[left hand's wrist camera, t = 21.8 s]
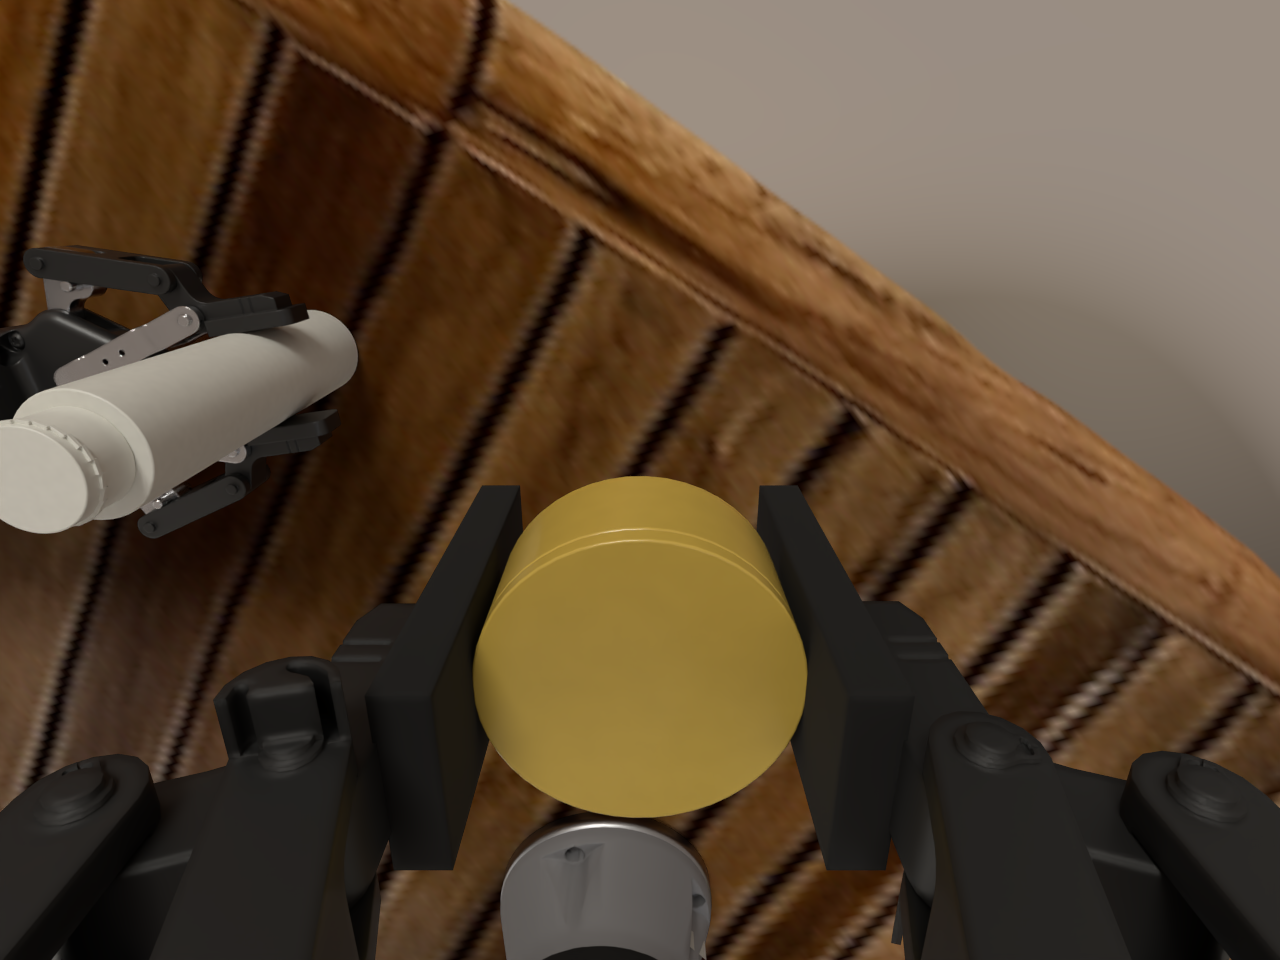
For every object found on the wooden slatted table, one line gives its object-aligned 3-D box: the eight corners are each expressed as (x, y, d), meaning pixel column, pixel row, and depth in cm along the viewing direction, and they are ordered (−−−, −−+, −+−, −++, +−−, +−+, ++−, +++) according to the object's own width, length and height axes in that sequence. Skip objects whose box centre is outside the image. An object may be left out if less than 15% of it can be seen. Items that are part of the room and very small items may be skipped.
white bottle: (373, 371, 39) (138, 517, 21) (306, 402, 40) (19, 571, 21) (329, 296, 38) (35, 381, 19) (260, 330, 38) (-89, 444, 20)
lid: (466, 507, 12) (425, 578, 10) (754, 448, 11) (782, 507, 9) (542, 735, 13) (524, 841, 11) (796, 690, 13) (828, 790, 11)
